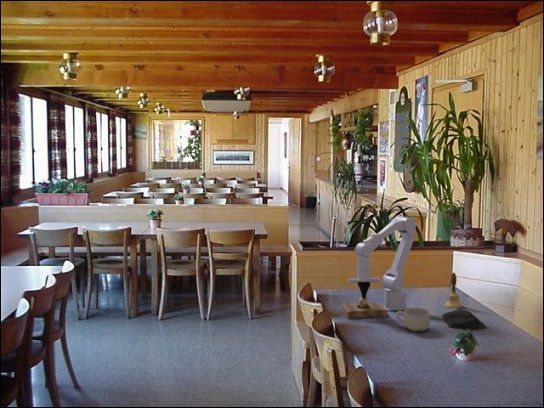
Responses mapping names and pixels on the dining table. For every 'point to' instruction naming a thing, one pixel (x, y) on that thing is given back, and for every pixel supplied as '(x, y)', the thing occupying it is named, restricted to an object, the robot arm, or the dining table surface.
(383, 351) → the dining table surface
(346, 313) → the board
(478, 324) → the dark slate chunk
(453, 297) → the hand bell
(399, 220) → the robot arm
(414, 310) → the teacup
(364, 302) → the peg
